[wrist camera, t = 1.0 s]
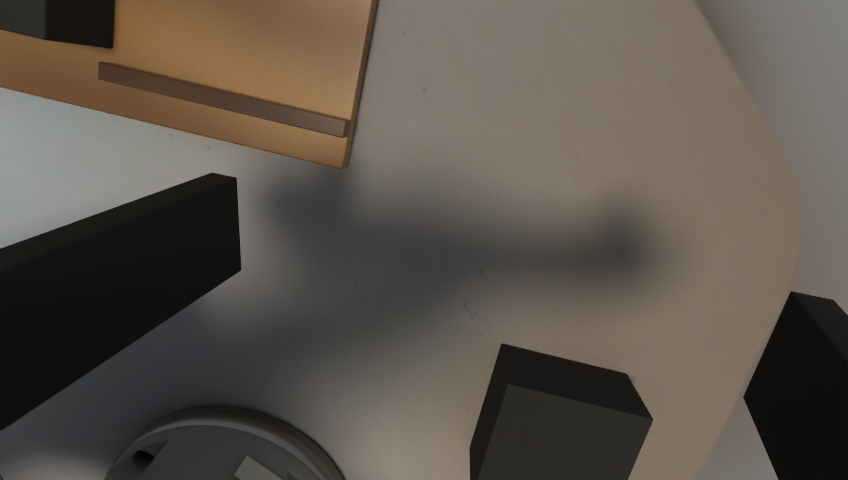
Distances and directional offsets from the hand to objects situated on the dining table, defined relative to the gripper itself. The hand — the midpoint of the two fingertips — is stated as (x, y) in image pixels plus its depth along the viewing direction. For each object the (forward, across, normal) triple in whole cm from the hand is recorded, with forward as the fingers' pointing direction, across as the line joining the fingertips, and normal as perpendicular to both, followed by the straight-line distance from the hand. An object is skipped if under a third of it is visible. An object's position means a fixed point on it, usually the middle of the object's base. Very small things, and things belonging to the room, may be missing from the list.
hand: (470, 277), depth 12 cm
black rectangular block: (+13, -4, +14) cm, 19 cm away
